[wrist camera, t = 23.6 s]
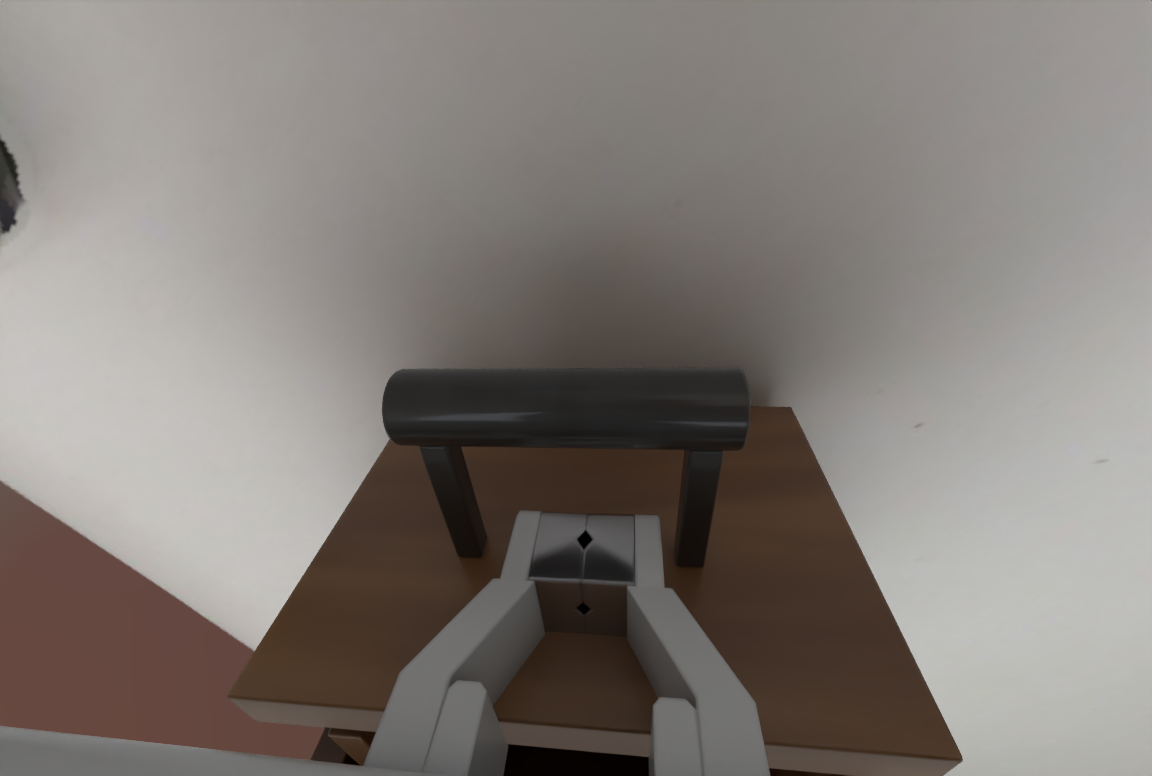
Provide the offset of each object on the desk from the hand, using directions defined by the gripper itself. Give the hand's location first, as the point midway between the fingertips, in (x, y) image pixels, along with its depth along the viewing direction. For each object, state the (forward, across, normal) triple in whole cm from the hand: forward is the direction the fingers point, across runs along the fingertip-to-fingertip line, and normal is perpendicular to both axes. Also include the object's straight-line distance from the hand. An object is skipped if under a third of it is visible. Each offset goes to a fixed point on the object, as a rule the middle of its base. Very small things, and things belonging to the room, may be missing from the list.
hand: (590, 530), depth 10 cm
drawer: (+6, 0, +6) cm, 8 cm away
